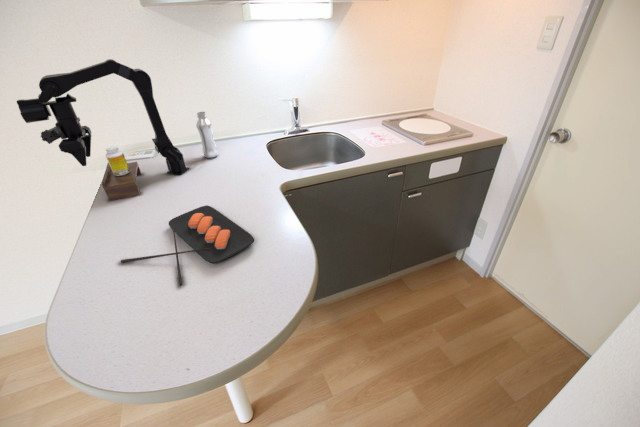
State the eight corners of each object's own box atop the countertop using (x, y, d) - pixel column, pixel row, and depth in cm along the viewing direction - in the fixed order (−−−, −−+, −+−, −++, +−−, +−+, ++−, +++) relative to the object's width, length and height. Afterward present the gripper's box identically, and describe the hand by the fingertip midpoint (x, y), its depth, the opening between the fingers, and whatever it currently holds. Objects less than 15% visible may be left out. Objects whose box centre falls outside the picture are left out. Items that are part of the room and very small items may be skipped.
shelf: (114, 178, 126) (107, 162, 123) (141, 173, 130) (135, 158, 126) (109, 201, 111) (101, 183, 107) (140, 194, 114) (133, 177, 111)
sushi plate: (259, 245, 88) (257, 234, 86) (151, 306, 70) (146, 294, 68) (208, 208, 105) (206, 198, 103) (112, 250, 88) (106, 239, 86)
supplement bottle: (132, 173, 118) (122, 147, 112) (116, 178, 114) (105, 151, 109) (127, 168, 121) (117, 143, 115) (112, 173, 118) (100, 148, 112)
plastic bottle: (221, 154, 145) (212, 111, 134) (211, 160, 140) (201, 115, 129) (211, 152, 147) (201, 110, 136) (201, 158, 142) (189, 114, 131)
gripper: (44, 113, 107) (65, 156, 115) (27, 128, 93) (53, 175, 101) (82, 109, 111) (99, 150, 119) (71, 123, 96) (92, 169, 105)
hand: (86, 161), depth 111 cm, fingers open, 9 cm apart
